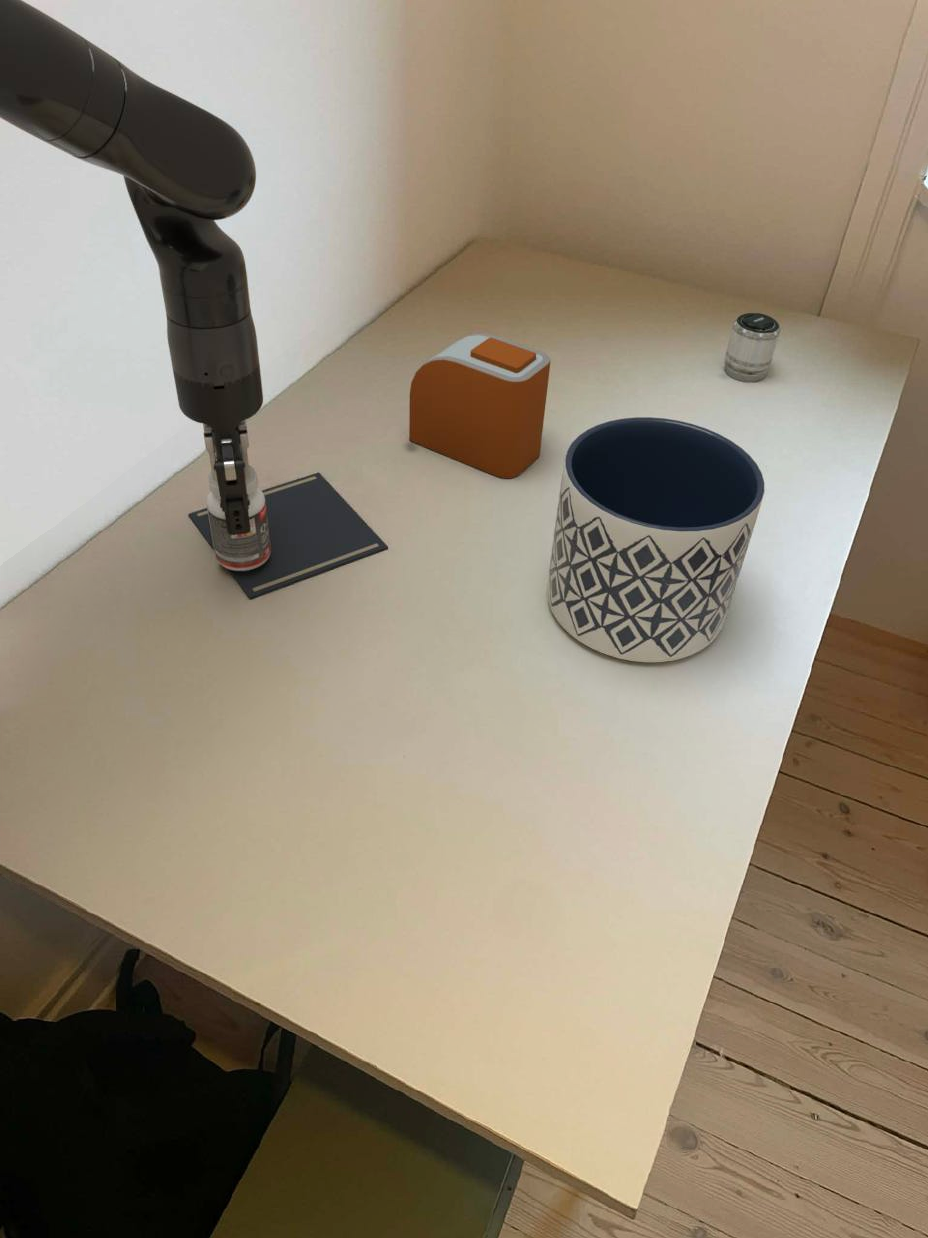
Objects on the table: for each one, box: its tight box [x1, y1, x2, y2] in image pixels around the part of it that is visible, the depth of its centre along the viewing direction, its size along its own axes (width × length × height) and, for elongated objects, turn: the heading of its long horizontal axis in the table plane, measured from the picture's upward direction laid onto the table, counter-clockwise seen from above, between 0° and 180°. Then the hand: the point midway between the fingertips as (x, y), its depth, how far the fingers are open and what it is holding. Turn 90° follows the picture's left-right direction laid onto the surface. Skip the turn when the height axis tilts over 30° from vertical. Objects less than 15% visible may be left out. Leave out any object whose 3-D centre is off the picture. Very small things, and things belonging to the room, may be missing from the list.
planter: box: [546, 416, 766, 663], centre depth 93 cm, size 18×18×16 cm
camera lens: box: [724, 312, 781, 383], centre depth 133 cm, size 6×6×8 cm
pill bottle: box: [206, 464, 271, 571], centre depth 97 cm, size 6×6×10 cm
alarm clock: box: [408, 332, 552, 479], centre depth 114 cm, size 15×8×14 cm, turn 57°
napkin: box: [187, 472, 389, 600], centre depth 105 cm, size 16×16×1 cm
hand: (237, 512), depth 97 cm, fingers closed on pill bottle, 5 cm apart
